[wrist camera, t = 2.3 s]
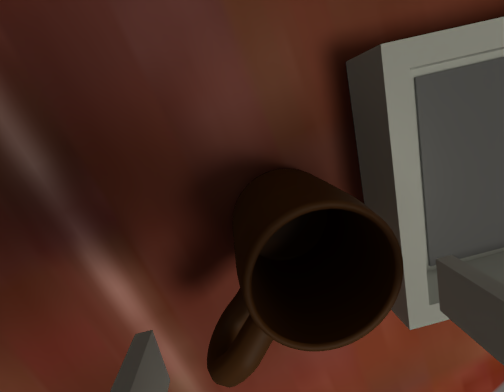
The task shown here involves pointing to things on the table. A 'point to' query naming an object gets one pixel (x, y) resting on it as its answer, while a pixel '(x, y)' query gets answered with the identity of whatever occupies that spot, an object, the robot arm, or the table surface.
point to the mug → (302, 272)
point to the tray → (434, 153)
